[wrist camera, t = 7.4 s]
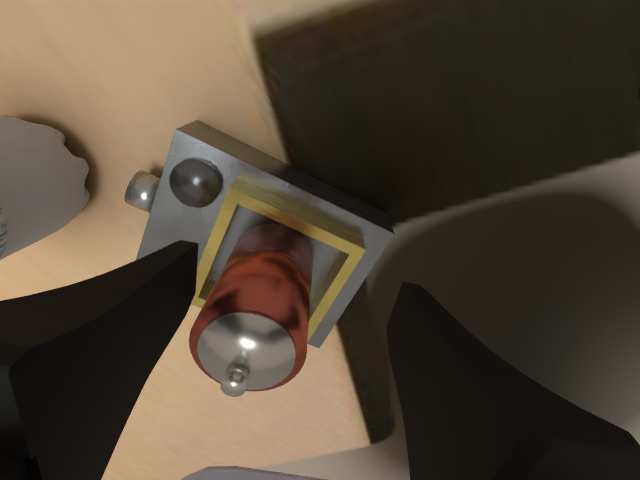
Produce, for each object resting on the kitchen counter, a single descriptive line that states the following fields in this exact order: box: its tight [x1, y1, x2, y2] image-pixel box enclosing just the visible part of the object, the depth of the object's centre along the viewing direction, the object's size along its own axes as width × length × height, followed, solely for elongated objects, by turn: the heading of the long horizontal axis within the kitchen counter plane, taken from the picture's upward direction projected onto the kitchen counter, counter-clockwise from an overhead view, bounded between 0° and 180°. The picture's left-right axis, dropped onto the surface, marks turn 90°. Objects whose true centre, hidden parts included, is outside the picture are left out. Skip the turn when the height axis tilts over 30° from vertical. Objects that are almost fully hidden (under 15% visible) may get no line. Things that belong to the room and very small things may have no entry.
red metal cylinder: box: [189, 223, 313, 397], centre depth 16 cm, size 4×4×8 cm
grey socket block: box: [125, 120, 394, 348], centre depth 20 cm, size 14×9×4 cm, turn 63°
